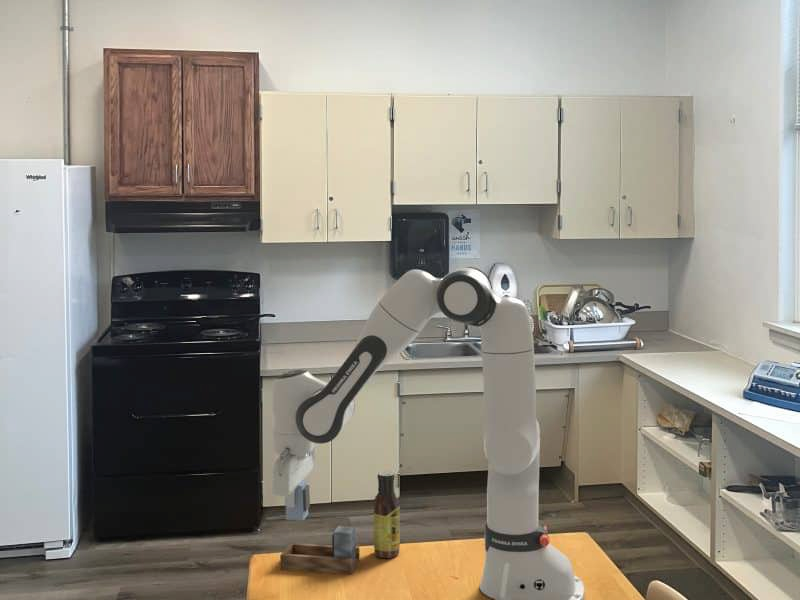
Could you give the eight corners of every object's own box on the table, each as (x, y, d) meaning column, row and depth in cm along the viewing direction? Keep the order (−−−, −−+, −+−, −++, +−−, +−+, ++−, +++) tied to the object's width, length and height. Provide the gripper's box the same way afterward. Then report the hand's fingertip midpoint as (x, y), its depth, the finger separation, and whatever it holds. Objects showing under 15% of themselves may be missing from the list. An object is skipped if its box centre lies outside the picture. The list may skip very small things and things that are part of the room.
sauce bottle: (396, 560, 207) (395, 478, 205) (371, 558, 208) (369, 477, 206) (402, 549, 213) (401, 470, 211) (377, 547, 214) (376, 469, 212)
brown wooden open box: (359, 561, 207) (358, 524, 206) (351, 574, 199) (351, 536, 198) (290, 556, 210) (289, 520, 209) (280, 569, 202) (279, 531, 201)
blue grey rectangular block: (310, 514, 199) (309, 480, 198) (305, 520, 195) (304, 485, 194) (291, 513, 200) (290, 479, 199) (286, 519, 196) (284, 485, 195)
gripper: (293, 456, 185) (294, 519, 186) (319, 431, 205) (320, 488, 206) (264, 455, 186) (266, 517, 188) (293, 430, 206) (294, 487, 208)
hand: (294, 502), depth 197 cm, fingers closed on blue grey rectangular block, 4 cm apart
